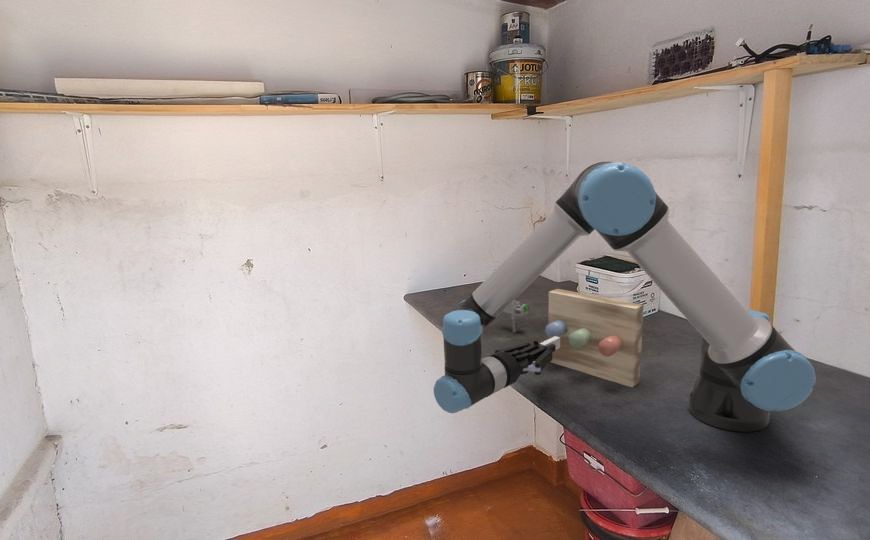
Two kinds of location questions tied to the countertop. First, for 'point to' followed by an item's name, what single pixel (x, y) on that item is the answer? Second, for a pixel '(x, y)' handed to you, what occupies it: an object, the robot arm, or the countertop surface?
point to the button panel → (598, 335)
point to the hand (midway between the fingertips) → (557, 342)
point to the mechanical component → (516, 312)
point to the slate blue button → (556, 329)
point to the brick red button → (610, 345)
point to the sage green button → (580, 338)
